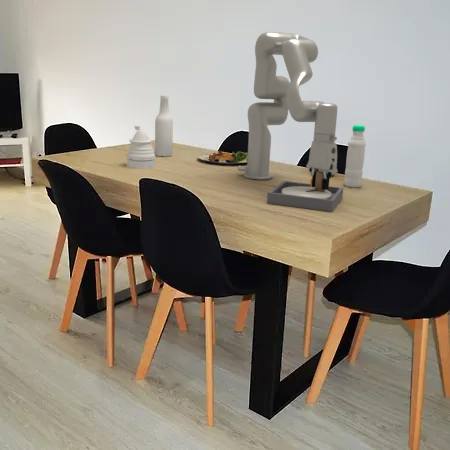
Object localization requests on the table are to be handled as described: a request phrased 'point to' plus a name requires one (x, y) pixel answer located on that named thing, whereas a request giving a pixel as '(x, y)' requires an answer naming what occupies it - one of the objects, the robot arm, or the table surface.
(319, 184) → the dial
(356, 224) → the table surface
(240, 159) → the plate of food
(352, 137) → the water bottle
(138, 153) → the honey pot
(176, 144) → the table surface
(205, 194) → the table surface
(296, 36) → the robot arm
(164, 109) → the alcohol
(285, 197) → the dial frame
